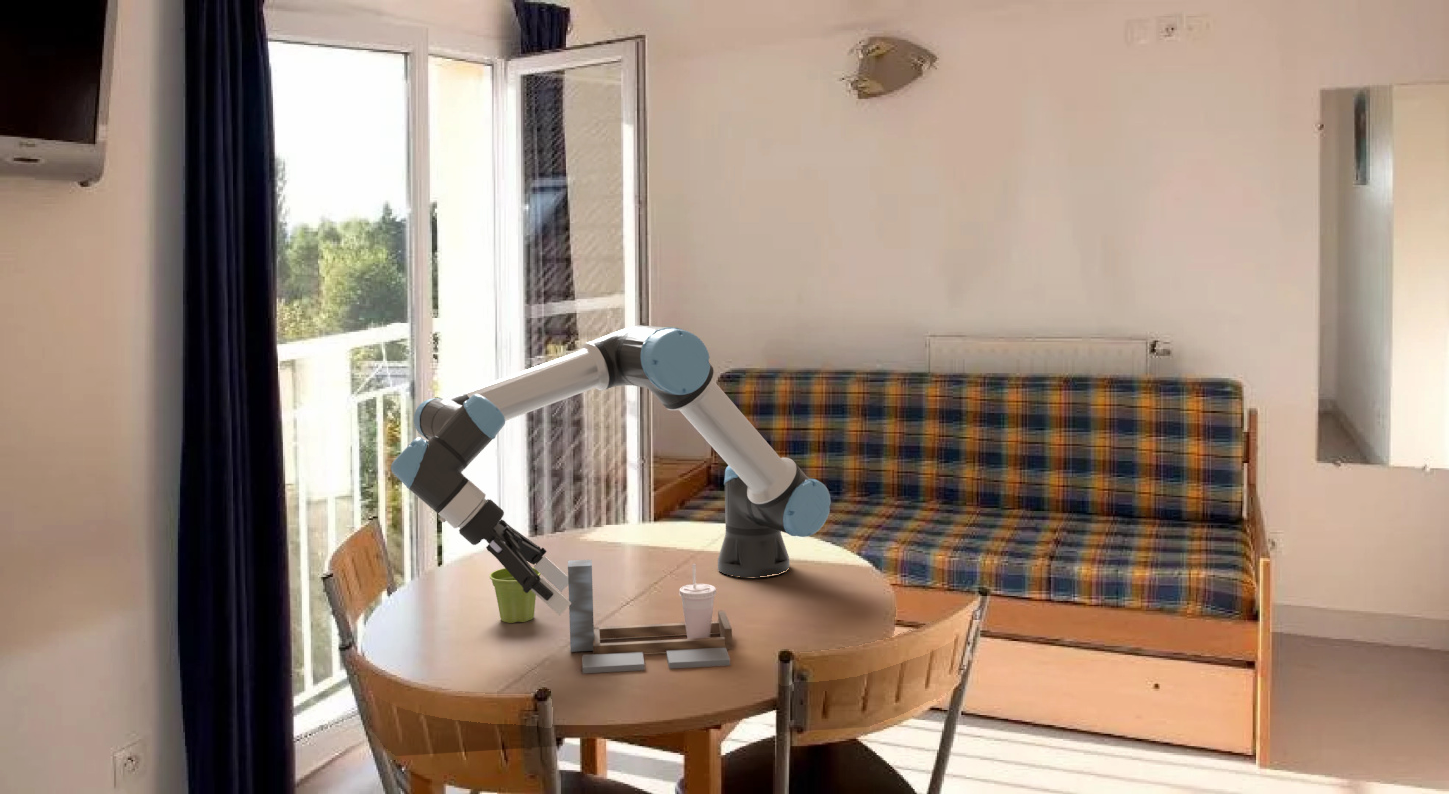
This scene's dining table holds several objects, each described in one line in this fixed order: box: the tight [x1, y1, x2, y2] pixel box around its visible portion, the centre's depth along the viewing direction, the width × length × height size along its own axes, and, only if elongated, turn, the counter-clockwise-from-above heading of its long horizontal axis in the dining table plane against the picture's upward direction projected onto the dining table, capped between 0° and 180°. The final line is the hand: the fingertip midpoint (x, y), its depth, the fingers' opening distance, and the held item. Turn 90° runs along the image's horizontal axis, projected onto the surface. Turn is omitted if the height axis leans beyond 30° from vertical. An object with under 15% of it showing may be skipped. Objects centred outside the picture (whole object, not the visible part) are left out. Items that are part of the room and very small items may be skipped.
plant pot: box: [488, 566, 542, 624], centre depth 226 cm, size 9×9×9 cm
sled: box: [567, 559, 733, 655], centre depth 210 cm, size 27×10×15 cm, turn 97°
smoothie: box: [678, 563, 717, 639], centre depth 211 cm, size 6×6×14 cm
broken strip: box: [581, 647, 731, 674], centre depth 202 cm, size 24×6×1 cm, turn 97°
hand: (566, 597), depth 207 cm, fingers open, 13 cm apart
